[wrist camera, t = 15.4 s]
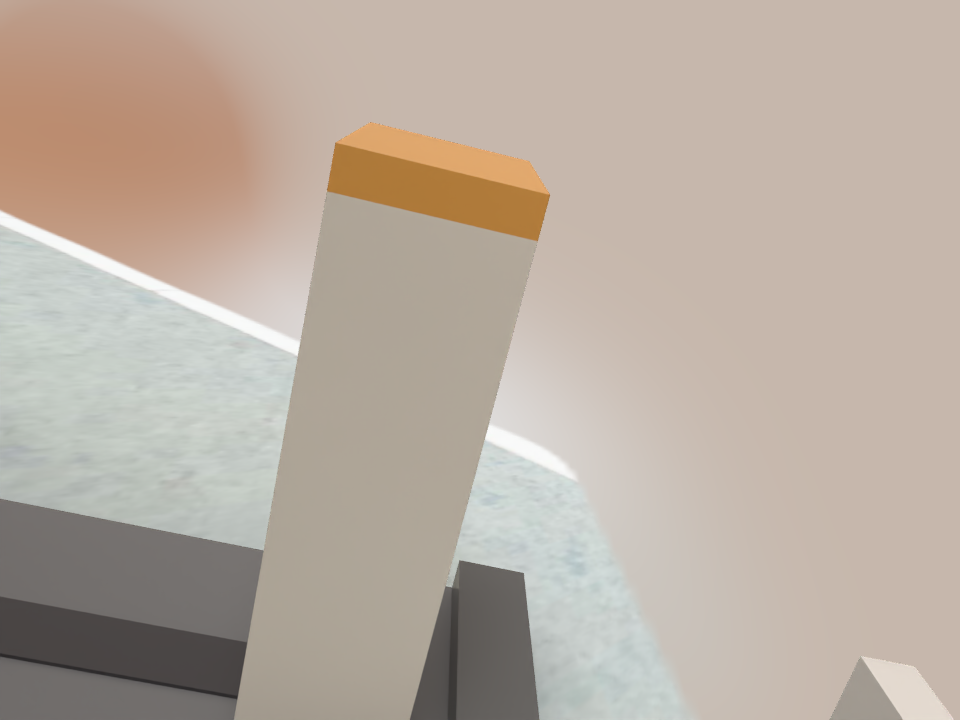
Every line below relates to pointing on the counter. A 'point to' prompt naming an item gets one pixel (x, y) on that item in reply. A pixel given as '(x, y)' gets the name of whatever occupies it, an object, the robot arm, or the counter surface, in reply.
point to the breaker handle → (386, 419)
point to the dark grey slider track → (205, 627)
